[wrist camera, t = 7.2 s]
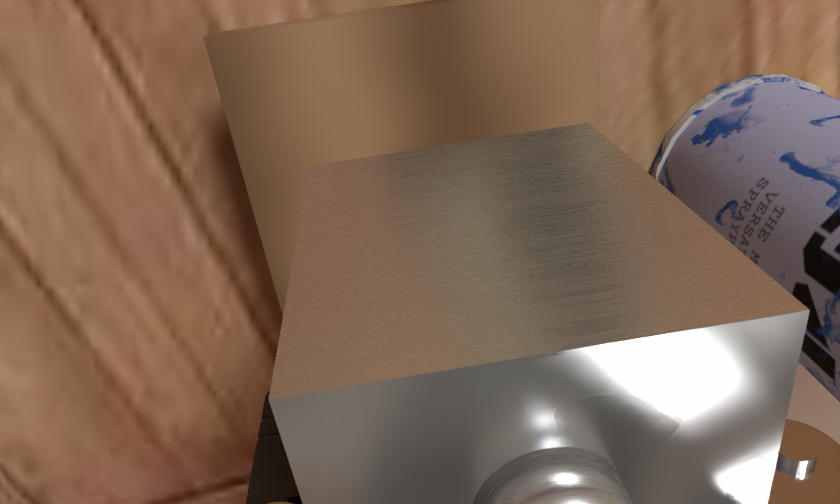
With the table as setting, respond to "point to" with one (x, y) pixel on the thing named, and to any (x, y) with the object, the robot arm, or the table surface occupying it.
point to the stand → (394, 90)
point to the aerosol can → (770, 192)
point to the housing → (526, 334)
